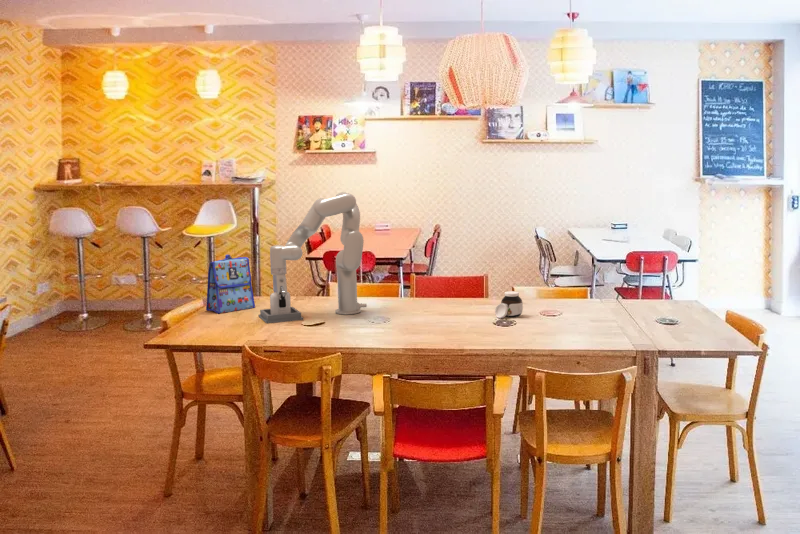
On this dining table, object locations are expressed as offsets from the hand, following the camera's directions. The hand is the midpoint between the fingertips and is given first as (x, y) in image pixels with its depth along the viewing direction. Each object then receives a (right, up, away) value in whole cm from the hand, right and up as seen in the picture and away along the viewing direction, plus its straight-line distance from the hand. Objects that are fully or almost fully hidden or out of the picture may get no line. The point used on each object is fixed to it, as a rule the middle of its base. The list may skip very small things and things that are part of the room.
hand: (280, 305), depth 419 cm
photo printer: (0, -5, +1) cm, 6 cm away
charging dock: (0, -6, +1) cm, 6 cm away
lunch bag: (-29, -3, +26) cm, 39 cm away
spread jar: (+111, -5, -7) cm, 111 cm away
